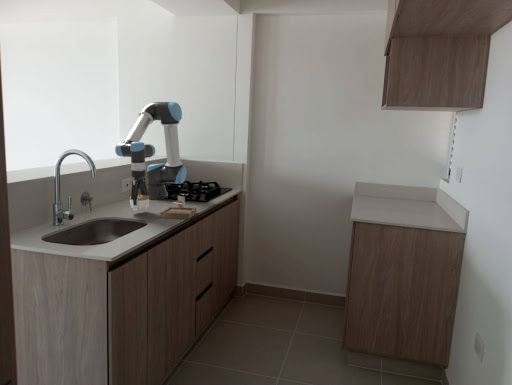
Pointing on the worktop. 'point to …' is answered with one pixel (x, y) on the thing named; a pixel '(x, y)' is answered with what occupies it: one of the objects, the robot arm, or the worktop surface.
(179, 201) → the architectural model
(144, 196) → the lidded jar
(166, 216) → the wooden tray
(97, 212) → the worktop surface
